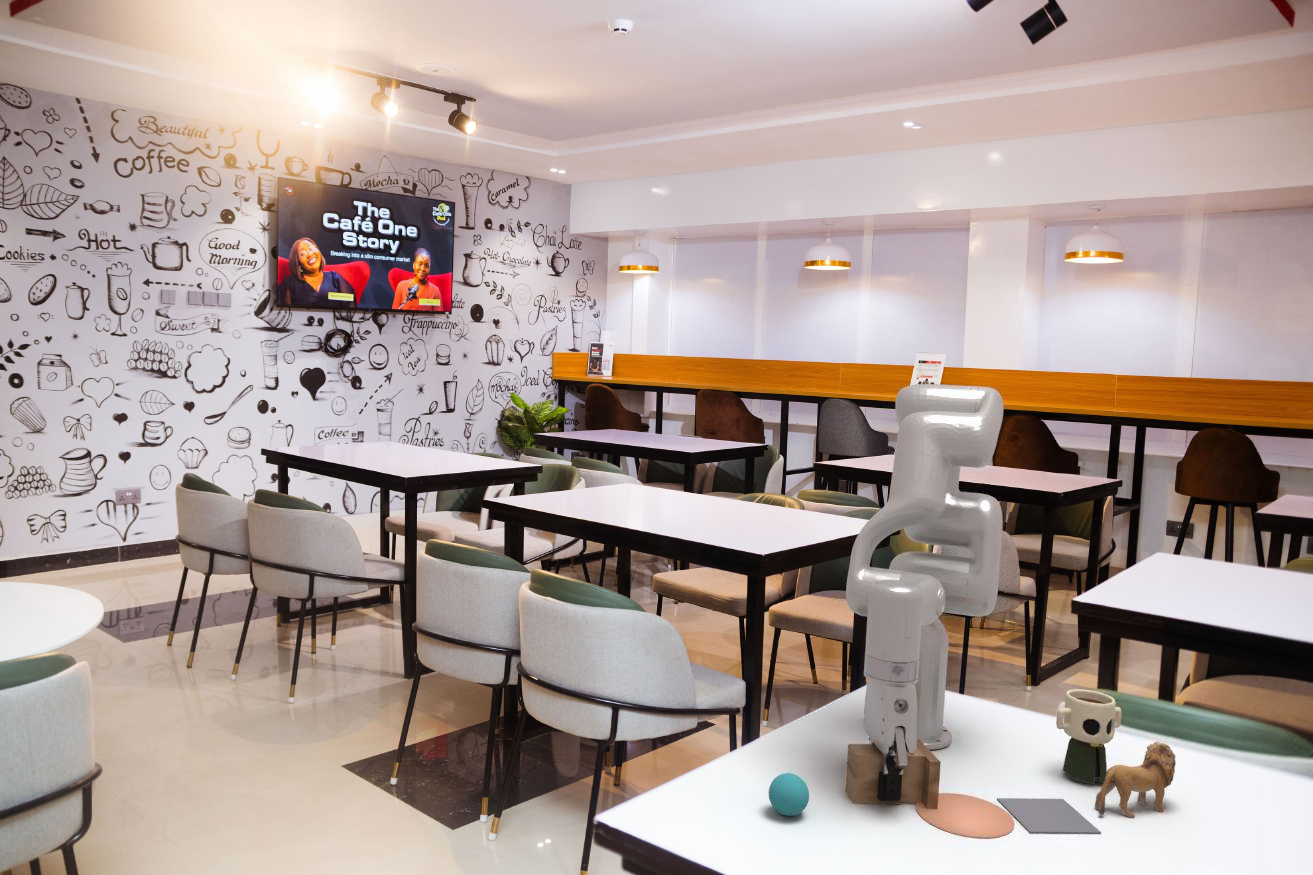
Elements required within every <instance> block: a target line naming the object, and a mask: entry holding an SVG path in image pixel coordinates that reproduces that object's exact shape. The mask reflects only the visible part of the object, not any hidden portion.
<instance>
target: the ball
mask: <svg viewBox="0 0 1313 875" xmlns="http://www.w3.org/2000/svg"><path fill="white" fill-rule="evenodd" d="M768 799H769V803H770V805H771V806H772V808H773V809H774V810H775V811H776V812H777V813H778V814H780V815H782V816H786V817H794V816H798V815H799V814H800V813H802V812H804V810H805V809H806V808H807V806H808V804H809V800H810V791H809V787H808V785H807V783H806V782H805V781H804V779H803V778H802V777H801V776H799V775H797V774H795V773H790V772H785V773H781V774H779V775H778V776H776V777H775V778H774V779H773V780H772V781H771V783H770V785H769V788H768Z"/></svg>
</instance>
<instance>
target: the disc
mask: <svg viewBox="0 0 1313 875" xmlns="http://www.w3.org/2000/svg"><path fill="white" fill-rule="evenodd" d="M915 805H916V806H915V807H916V808H915V810H916V812H917V814H918V815H919V816H920V818H922V819H923V820H924V821H925V822H926V823H928V824H929V825H931V826H933V827H935V828H936V829H938V830H939V829H940V830H942V831H944V832H947V833H950V834H954V835H958V836H960V837H961V836H962V837H965V838H974V839H995V838H1001V837H1004V836H1006V835H1007V836H1008V835H1009V834H1010V833H1011V832H1012V831H1013V830H1014V829H1015V821H1014V817H1013V816H1012V814H1011V813H1010V812H1009V811H1007V810H1005V809H1004V808H1002V807H1000V806H999V805H997V804H995V803H993V802H991V801H988V800H985V799H983V798H980V797H976V796H972V795H969V794H968V795H967V794H962V793H953V792H939V795H938V809H927V808H926V807H925V806H924V804H923V803H917V804H915Z"/></svg>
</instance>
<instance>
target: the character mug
mask: <svg viewBox="0 0 1313 875" xmlns="http://www.w3.org/2000/svg"><path fill="white" fill-rule="evenodd" d="M1116 705H1117V704H1116V699H1115V698H1114V697H1112V696H1111V695H1109V694H1105V693H1103V692H1100V691H1096V690H1091V689H1090V690H1089V689H1083V688H1082V689H1079V688H1075V689H1068V690H1067V691H1065V700H1064V707H1059V708H1057V711H1056V721H1055V724H1056V725H1055V726H1056V728H1057V729H1058V730H1063V731H1064V733H1065V734H1066V735H1067V736H1069V737H1070V738H1069V740H1068V744H1067V748H1066V753H1065V757H1064V761H1063V767H1062V771H1064V773H1065V774H1066V775H1067V776H1069V777H1070V778H1071V779H1073V780H1076V781H1079V782H1081V783H1087V784H1095V783H1096V778H1099V783H1100V784H1104V781H1105V777H1106V773H1107V771H1108V769H1107V768H1108V765H1107V753H1106V747H1105V744H1108V743H1110V742H1111V741H1112V740H1113V739H1114V737H1115V732H1116V729H1117V728H1120V727H1121V723H1122V722H1121V721H1122V708H1121V707H1119V706H1116Z"/></svg>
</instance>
